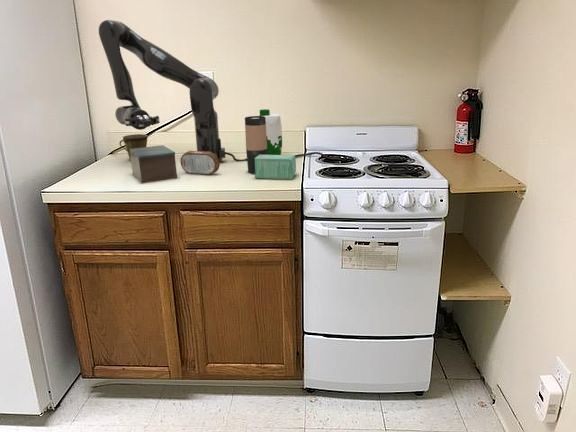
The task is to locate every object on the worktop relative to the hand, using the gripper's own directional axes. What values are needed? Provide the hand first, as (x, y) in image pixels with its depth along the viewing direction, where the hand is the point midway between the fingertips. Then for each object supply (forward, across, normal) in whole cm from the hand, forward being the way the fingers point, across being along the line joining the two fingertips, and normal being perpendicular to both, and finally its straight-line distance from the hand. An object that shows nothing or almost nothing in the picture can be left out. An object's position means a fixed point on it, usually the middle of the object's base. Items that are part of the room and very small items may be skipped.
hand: (147, 123), depth 174 cm
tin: (+4, +16, +20) cm, 26 cm away
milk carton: (-5, +50, +20) cm, 54 cm away
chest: (-2, 0, +20) cm, 20 cm away
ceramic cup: (-36, 0, +20) cm, 41 cm away
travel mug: (+13, +35, +20) cm, 43 cm away
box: (+24, +37, +20) cm, 49 cm away
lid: (-1, +1, +11) cm, 11 cm away
